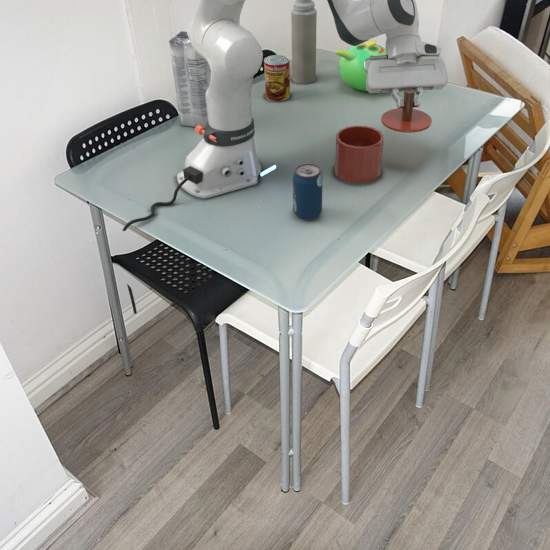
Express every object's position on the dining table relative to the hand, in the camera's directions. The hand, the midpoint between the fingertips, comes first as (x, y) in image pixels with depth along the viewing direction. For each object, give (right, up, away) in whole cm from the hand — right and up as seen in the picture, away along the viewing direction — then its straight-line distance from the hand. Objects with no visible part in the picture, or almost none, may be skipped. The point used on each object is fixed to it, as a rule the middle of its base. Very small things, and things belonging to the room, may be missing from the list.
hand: (408, 107), depth 156 cm
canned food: (-33, +15, +44) cm, 57 cm away
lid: (0, -3, +3) cm, 4 cm away
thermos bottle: (-24, +24, +53) cm, 63 cm away
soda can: (-26, -28, -7) cm, 39 cm away
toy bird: (-4, +18, +46) cm, 50 cm away
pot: (-12, -16, +6) cm, 21 cm away
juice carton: (-56, +4, +31) cm, 65 cm away
